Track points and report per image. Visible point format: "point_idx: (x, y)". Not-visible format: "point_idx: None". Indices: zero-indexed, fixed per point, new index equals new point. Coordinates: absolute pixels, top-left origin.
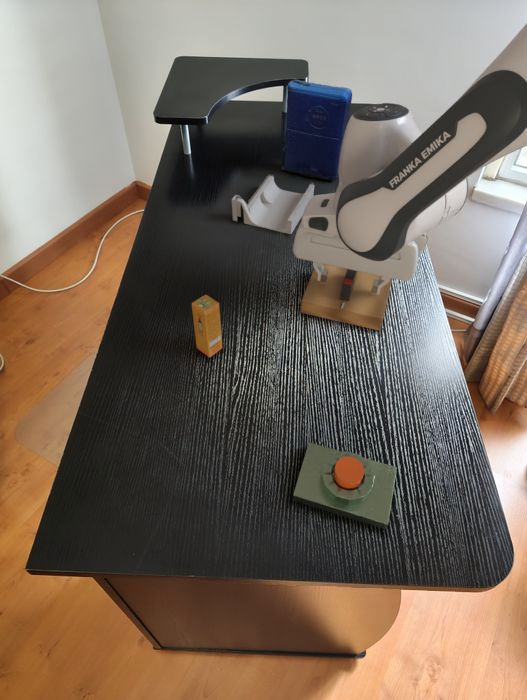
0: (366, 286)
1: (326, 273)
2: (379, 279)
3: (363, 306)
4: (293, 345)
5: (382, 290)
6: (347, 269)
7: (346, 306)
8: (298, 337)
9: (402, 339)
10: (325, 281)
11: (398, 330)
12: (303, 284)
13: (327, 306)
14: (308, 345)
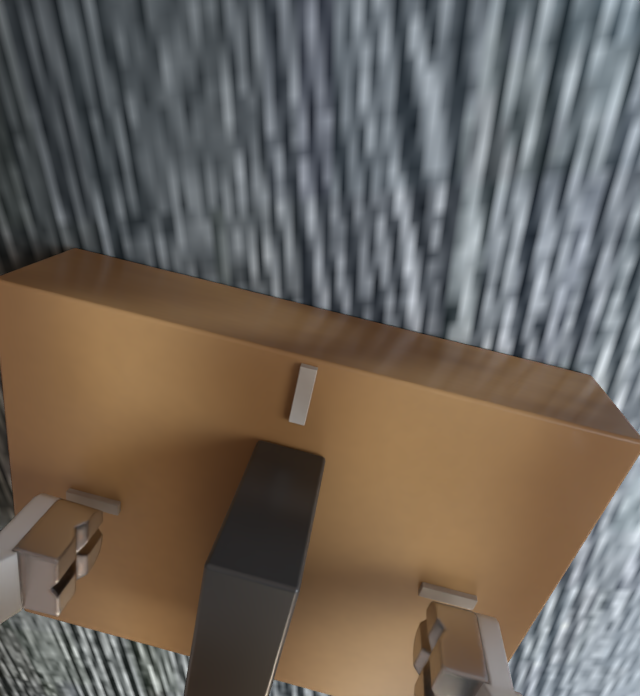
0: (398, 532)
1: (53, 596)
2: (486, 690)
3: (362, 664)
4: (102, 666)
5: (512, 568)
6: (190, 662)
7: None
8: (109, 640)
9: (552, 677)
10: (92, 566)
11: (549, 638)
12: None
13: (164, 647)
14: (154, 670)
